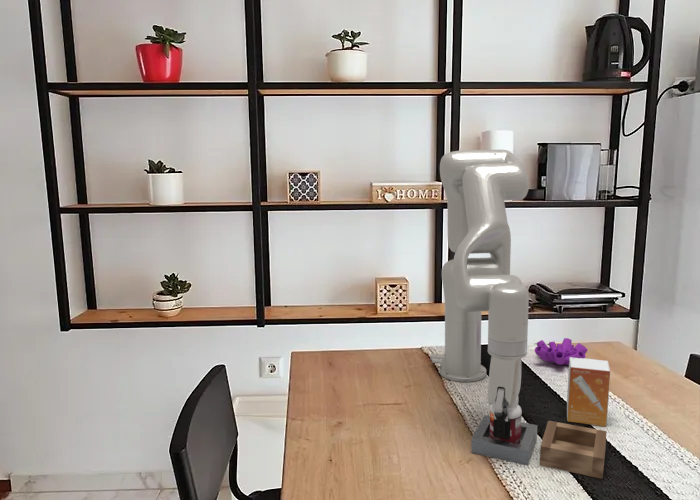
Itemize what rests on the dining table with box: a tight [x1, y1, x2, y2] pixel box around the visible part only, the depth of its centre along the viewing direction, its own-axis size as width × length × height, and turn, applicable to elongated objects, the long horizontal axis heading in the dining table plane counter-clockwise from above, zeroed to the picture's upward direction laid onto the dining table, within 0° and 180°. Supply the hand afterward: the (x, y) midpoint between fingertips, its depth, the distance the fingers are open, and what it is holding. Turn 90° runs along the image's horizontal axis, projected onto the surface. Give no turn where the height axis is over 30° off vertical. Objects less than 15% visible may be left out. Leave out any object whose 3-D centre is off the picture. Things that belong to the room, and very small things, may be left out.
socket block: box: [470, 414, 538, 466], centre depth 114 cm, size 11×11×3 cm
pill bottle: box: [489, 394, 523, 444], centre depth 113 cm, size 6×6×11 cm
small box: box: [566, 357, 611, 428], centre depth 123 cm, size 8×6×13 cm
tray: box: [539, 420, 608, 480], centre depth 109 cm, size 11×11×4 cm
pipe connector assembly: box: [534, 337, 589, 366], centre depth 155 cm, size 11×15×10 cm
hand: (505, 429), depth 113 cm, fingers closed on pill bottle, 6 cm apart
